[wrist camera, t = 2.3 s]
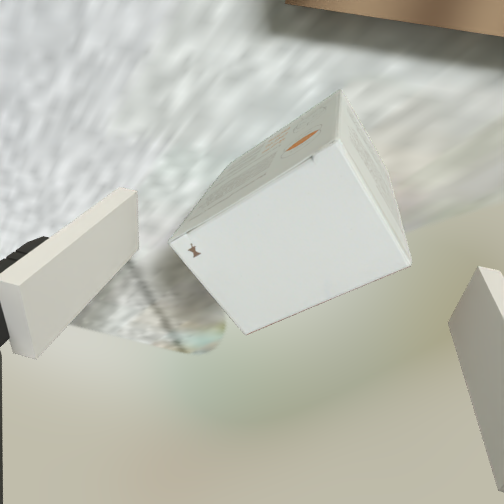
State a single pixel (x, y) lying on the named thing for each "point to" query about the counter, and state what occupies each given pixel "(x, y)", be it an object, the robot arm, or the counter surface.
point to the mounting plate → (424, 12)
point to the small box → (296, 220)
